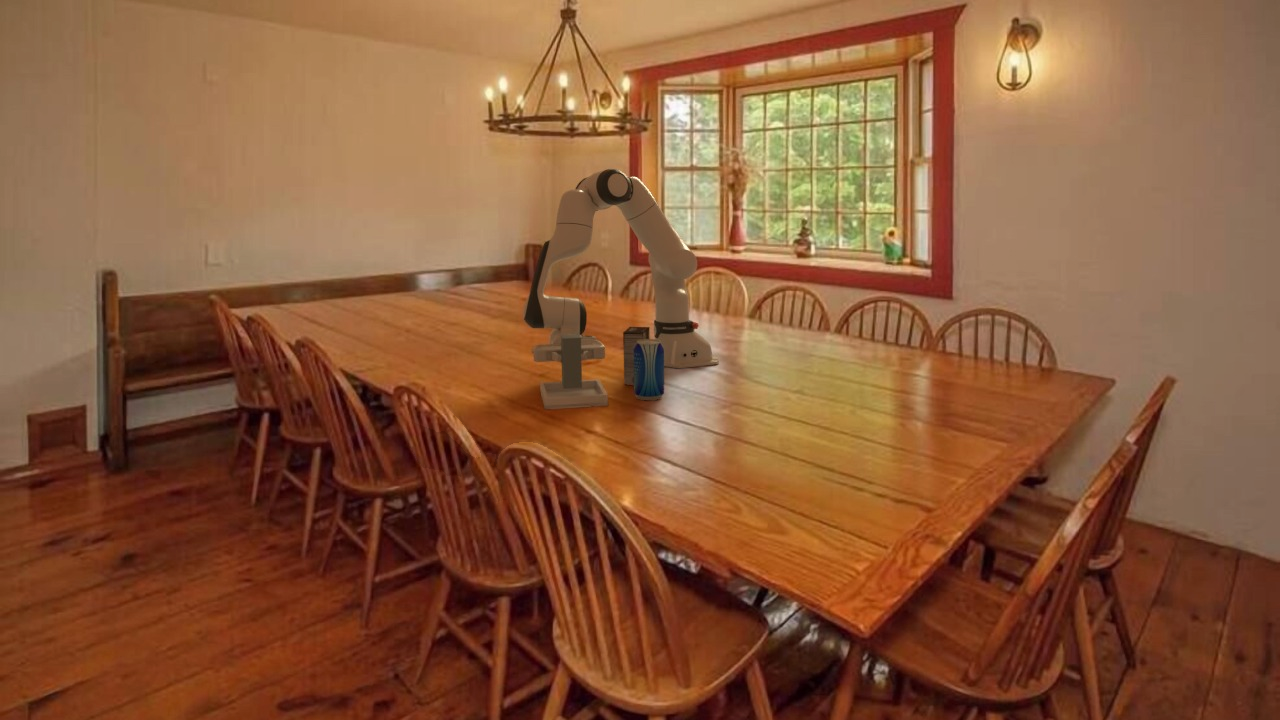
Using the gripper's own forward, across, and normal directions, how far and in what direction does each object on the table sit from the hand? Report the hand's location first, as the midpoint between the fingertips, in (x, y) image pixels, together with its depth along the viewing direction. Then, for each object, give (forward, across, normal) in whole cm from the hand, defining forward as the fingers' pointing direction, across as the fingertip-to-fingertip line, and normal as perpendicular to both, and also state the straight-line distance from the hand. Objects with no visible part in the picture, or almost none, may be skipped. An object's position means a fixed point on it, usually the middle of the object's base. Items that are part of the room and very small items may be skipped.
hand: (571, 358), depth 215 cm
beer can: (+2, +21, +12) cm, 24 cm away
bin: (-1, 0, +12) cm, 12 cm away
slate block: (-1, 0, +8) cm, 8 cm away
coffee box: (-16, +21, +12) cm, 29 cm away
